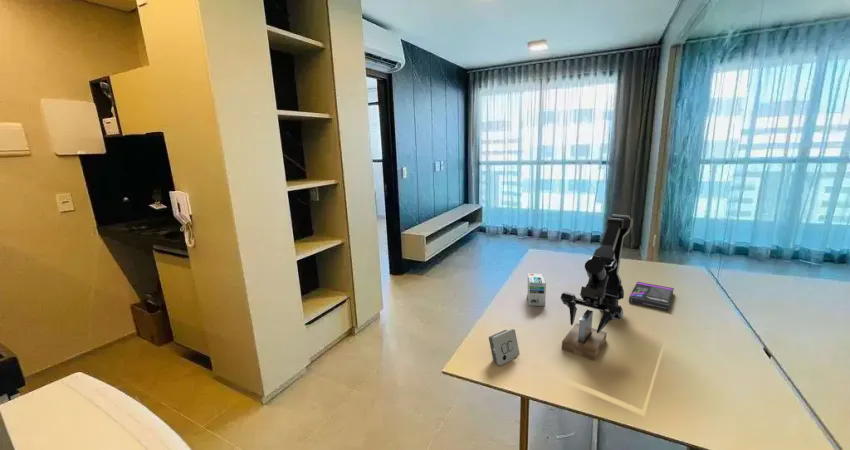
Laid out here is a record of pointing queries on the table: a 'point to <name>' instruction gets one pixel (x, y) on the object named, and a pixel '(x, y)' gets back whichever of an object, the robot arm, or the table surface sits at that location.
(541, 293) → the light bulb box
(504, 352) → the electrical switch
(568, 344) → the walnut slot box
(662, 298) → the box
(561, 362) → the table surface
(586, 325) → the gray rectangular metal block
